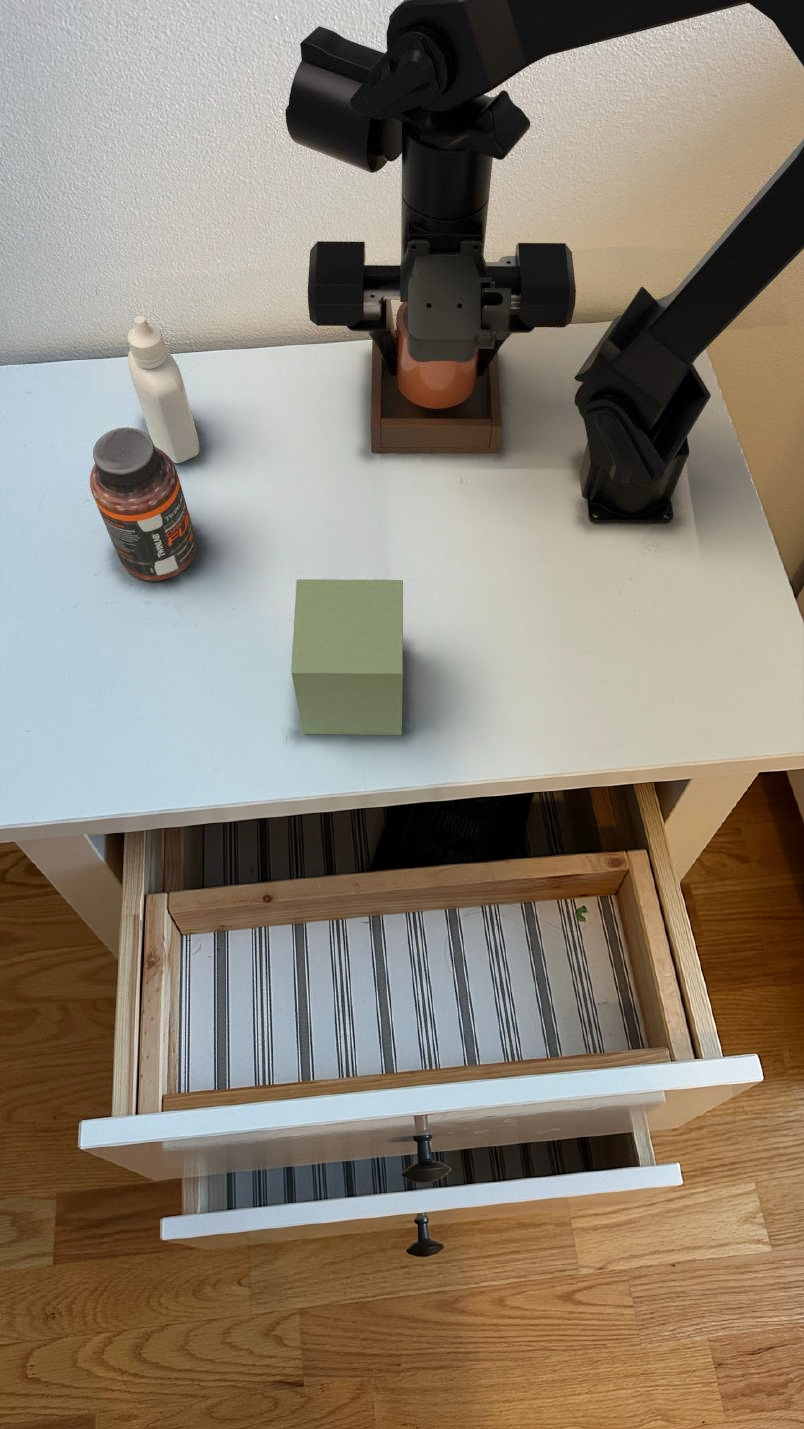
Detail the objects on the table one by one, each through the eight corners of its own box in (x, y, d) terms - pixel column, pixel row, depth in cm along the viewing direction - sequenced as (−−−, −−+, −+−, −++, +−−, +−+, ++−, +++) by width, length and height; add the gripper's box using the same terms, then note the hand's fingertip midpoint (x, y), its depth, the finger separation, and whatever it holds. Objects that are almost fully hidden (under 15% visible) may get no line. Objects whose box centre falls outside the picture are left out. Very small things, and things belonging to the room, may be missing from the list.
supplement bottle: (194, 585, 73) (162, 487, 63) (114, 583, 73) (69, 485, 63) (202, 520, 75) (173, 416, 65) (125, 518, 75) (84, 414, 65)
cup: (475, 349, 79) (481, 287, 74) (477, 409, 77) (483, 349, 71) (396, 348, 79) (396, 286, 74) (396, 408, 77) (395, 349, 71)
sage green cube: (402, 649, 71) (403, 579, 62) (401, 735, 68) (402, 673, 60) (307, 648, 71) (296, 579, 62) (303, 734, 68) (290, 672, 59)
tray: (493, 359, 83) (497, 330, 80) (498, 453, 78) (502, 426, 76) (373, 358, 83) (372, 329, 80) (371, 452, 78) (370, 425, 76)
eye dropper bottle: (204, 411, 80) (174, 291, 69) (199, 465, 78) (168, 349, 67) (150, 412, 80) (112, 291, 69) (144, 466, 78) (103, 349, 67)
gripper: (295, 277, 60) (314, 451, 74) (600, 279, 60) (561, 452, 74) (303, 159, 65) (320, 342, 79) (585, 161, 65) (551, 344, 79)
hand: (436, 372), depth 77 cm, fingers closed on cup, 6 cm apart
